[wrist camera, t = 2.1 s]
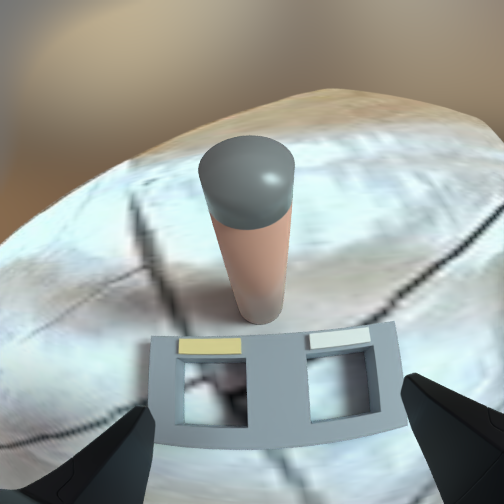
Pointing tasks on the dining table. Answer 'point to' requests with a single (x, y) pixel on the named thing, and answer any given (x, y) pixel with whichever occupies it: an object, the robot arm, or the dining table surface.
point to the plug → (251, 218)
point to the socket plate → (276, 387)
